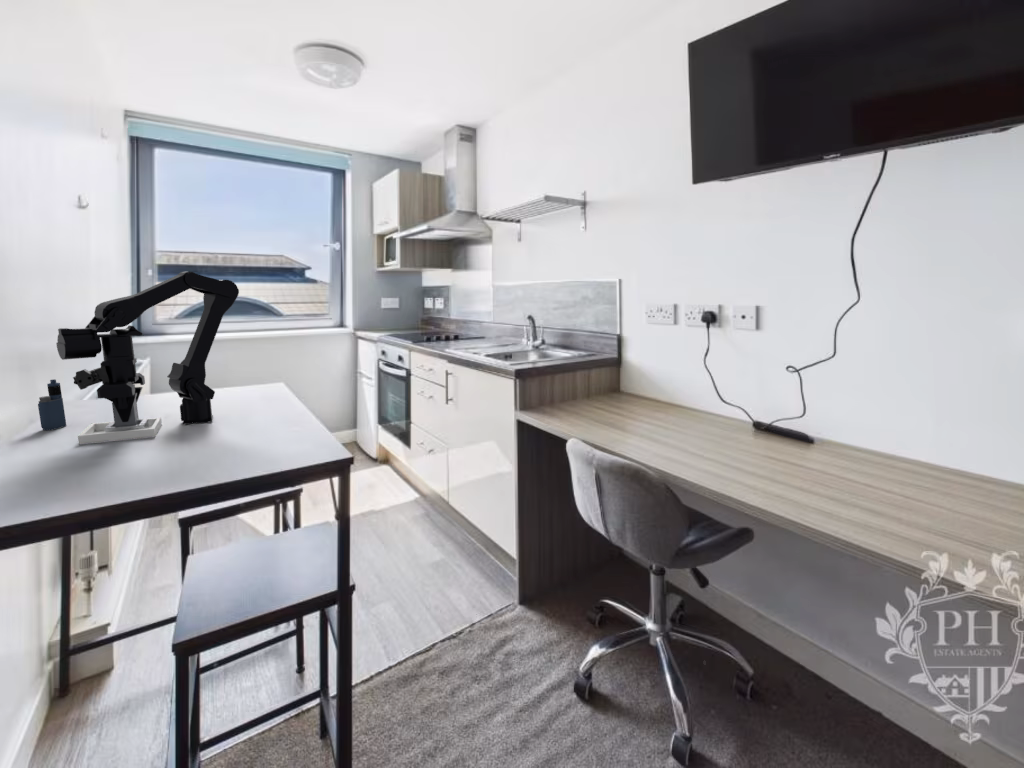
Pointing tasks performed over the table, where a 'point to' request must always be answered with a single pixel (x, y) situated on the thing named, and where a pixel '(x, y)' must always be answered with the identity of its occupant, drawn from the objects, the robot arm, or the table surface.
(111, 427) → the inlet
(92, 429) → the walled tray
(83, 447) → the table surface
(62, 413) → the vaping device
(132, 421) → the block
